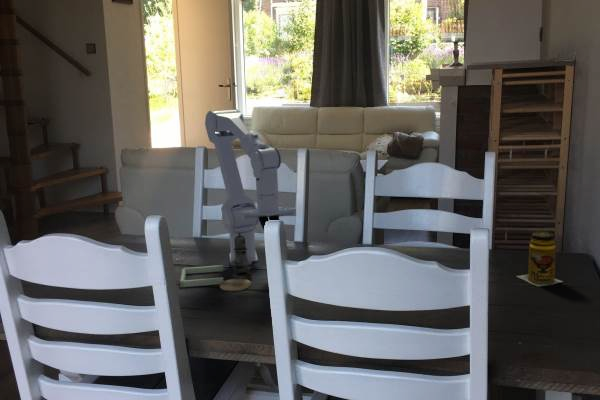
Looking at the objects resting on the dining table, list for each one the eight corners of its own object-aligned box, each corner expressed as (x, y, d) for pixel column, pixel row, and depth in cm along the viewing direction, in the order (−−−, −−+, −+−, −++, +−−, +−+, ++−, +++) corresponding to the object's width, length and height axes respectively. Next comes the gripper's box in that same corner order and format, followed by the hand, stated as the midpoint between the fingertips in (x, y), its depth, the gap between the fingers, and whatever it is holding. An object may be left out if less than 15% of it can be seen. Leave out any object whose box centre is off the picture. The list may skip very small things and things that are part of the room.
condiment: (539, 287, 146) (541, 239, 143) (515, 277, 154) (517, 231, 151) (563, 282, 148) (565, 235, 146) (538, 272, 156) (540, 227, 154)
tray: (183, 273, 167) (182, 268, 167) (223, 270, 169) (222, 265, 168) (180, 287, 156) (180, 281, 156) (223, 283, 157) (223, 278, 157)
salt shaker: (249, 279, 160) (246, 235, 158) (228, 278, 161) (225, 235, 159) (255, 272, 166) (253, 229, 163) (234, 271, 167) (232, 229, 165)
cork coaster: (219, 281, 159) (219, 280, 159) (250, 279, 160) (250, 277, 160) (219, 292, 151) (219, 290, 151) (251, 289, 152) (251, 287, 152)
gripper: (240, 198, 155) (243, 249, 158) (296, 194, 157) (298, 245, 160) (239, 193, 162) (242, 242, 165) (293, 190, 164) (295, 238, 167)
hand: (270, 243), depth 163 cm, fingers closed
